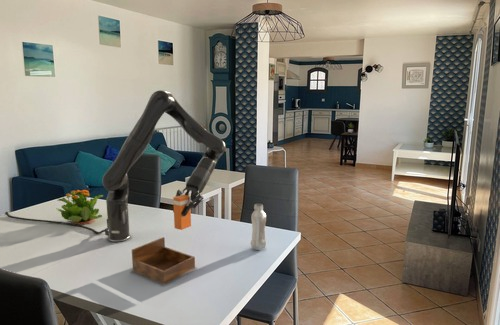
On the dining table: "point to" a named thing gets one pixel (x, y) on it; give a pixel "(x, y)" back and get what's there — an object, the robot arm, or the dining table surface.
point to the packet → (179, 219)
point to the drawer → (161, 261)
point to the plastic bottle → (258, 228)
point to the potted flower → (80, 208)
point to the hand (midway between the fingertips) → (178, 214)
